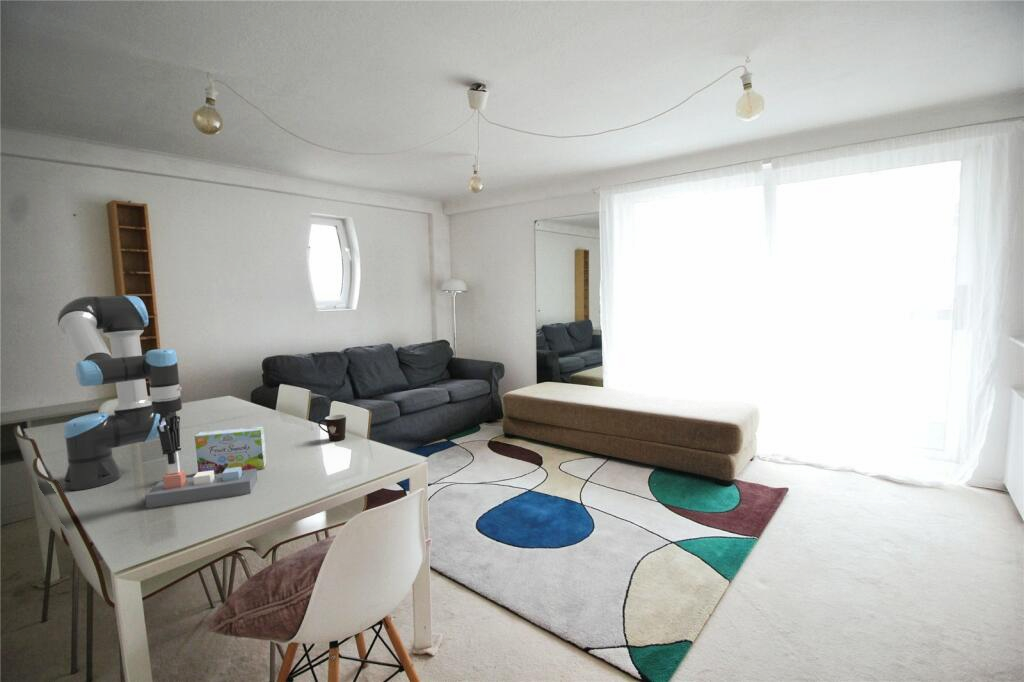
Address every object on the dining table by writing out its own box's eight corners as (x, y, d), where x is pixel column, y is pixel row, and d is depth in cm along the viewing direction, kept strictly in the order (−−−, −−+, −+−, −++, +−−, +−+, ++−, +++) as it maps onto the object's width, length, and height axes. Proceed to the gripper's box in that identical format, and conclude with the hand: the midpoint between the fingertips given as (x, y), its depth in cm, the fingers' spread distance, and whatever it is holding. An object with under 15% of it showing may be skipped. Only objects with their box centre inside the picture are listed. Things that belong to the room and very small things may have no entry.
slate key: (223, 486, 155) (222, 473, 154) (226, 481, 159) (225, 468, 159) (239, 484, 156) (238, 471, 156) (242, 479, 160) (241, 466, 160)
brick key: (164, 490, 149) (162, 477, 149) (169, 485, 154) (168, 471, 153) (181, 488, 151) (180, 474, 150) (186, 483, 155) (184, 469, 155)
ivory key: (194, 490, 152) (193, 477, 152) (198, 485, 156) (197, 472, 156) (211, 488, 154) (210, 475, 153) (215, 483, 158) (213, 470, 157)
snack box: (197, 477, 170) (193, 435, 168) (203, 471, 175) (199, 431, 174) (264, 469, 175) (260, 429, 174) (267, 464, 181) (264, 425, 179)
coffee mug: (351, 438, 211) (350, 415, 210) (335, 443, 204) (333, 420, 203) (334, 434, 217) (333, 412, 216) (318, 439, 210) (316, 417, 209)
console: (146, 508, 145) (145, 495, 145) (161, 493, 156) (160, 481, 156) (250, 493, 154) (249, 481, 154) (257, 479, 165) (256, 468, 165)
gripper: (173, 401, 145) (181, 478, 147) (186, 393, 157) (194, 464, 159) (143, 404, 142) (152, 481, 144) (159, 396, 155) (167, 467, 157)
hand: (174, 472), depth 152 cm, fingers closed
